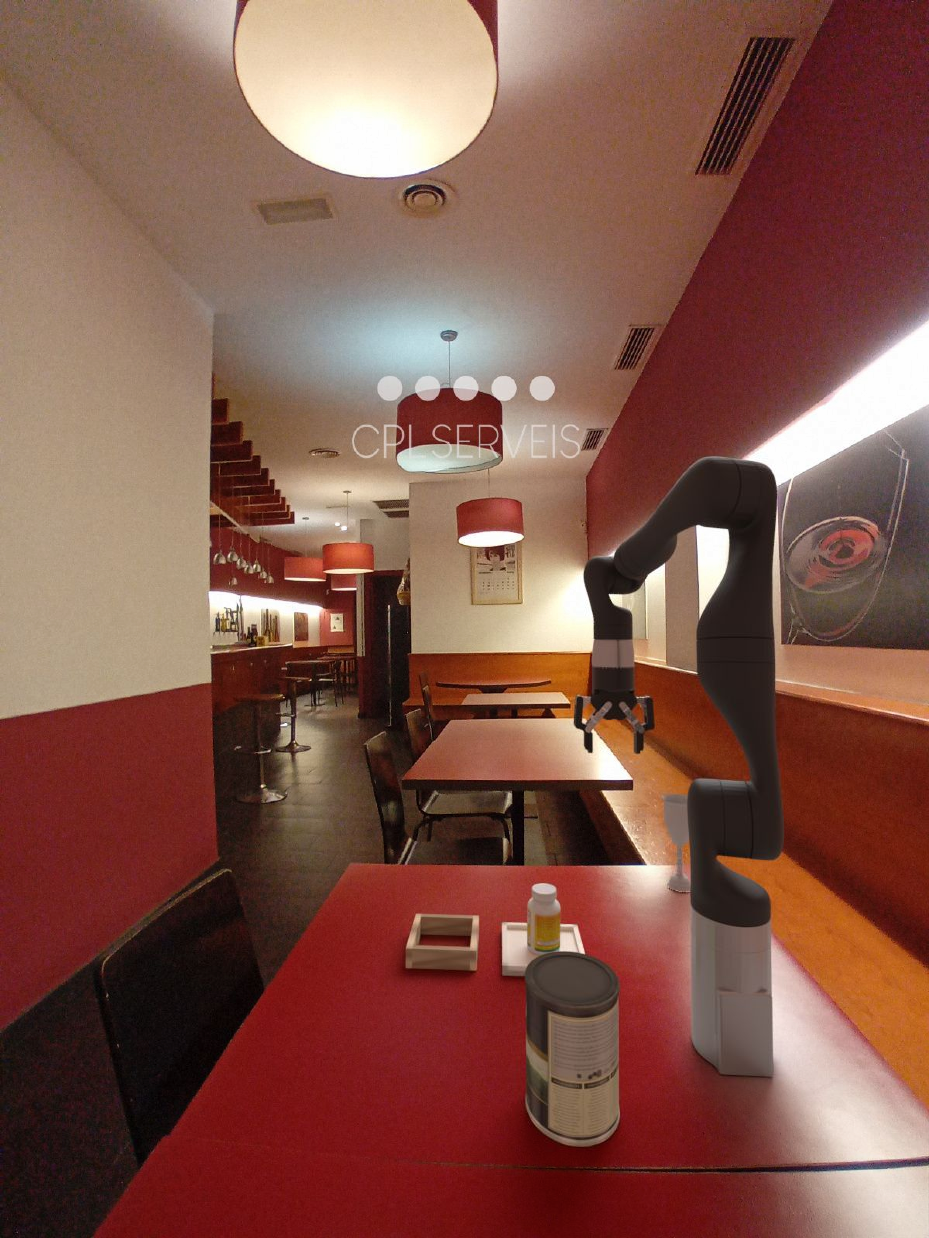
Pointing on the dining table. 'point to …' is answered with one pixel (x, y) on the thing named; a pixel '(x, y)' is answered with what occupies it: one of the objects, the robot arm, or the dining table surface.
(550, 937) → the supplement bottle
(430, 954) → the oak holder
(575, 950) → the ceramic tray
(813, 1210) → the dining table surface
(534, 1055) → the coffee can
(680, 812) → the chalice
